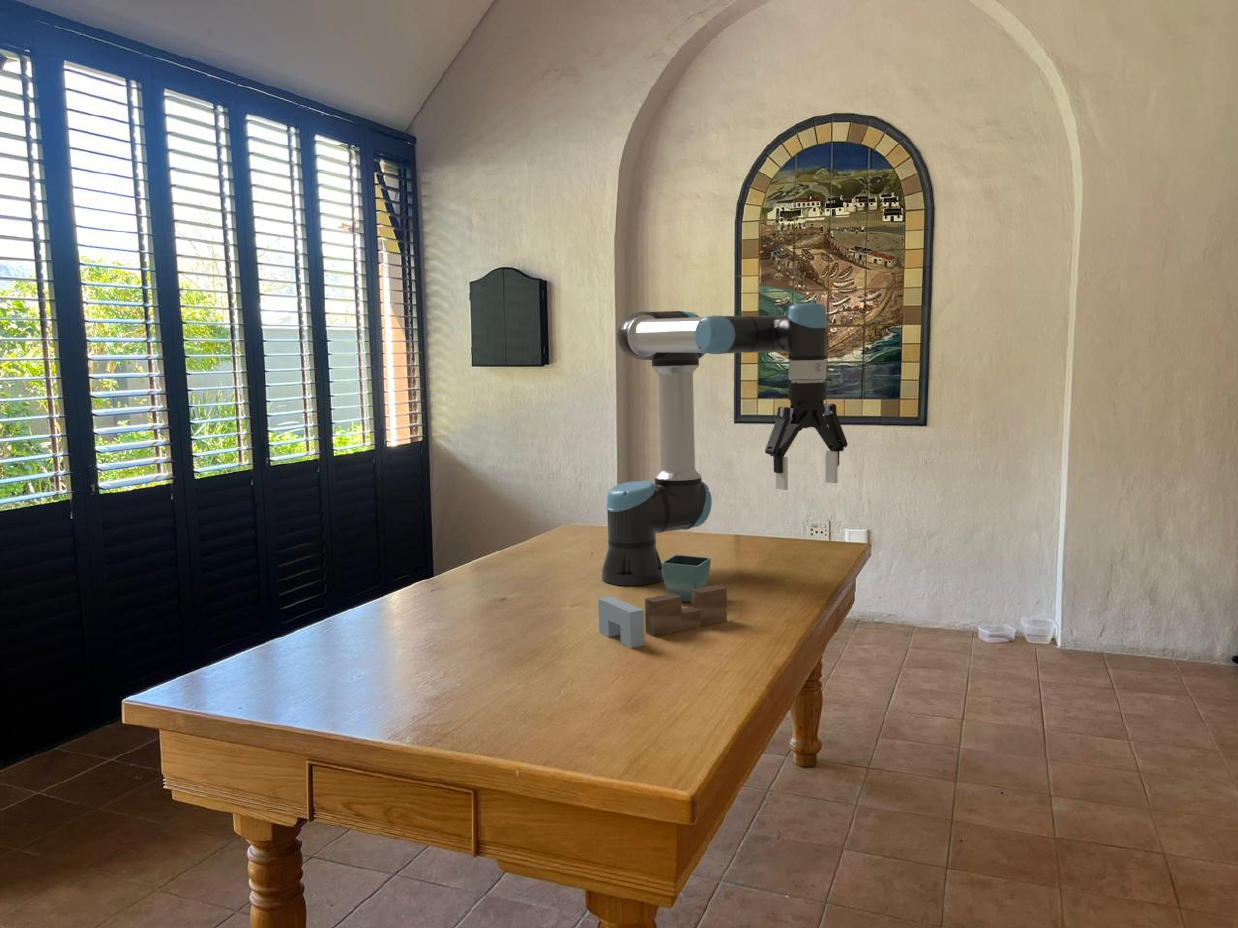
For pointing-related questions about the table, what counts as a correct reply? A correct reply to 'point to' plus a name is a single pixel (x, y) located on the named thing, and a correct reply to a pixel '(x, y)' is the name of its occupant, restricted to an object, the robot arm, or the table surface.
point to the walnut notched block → (685, 611)
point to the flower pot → (685, 575)
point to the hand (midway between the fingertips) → (807, 485)
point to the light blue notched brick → (621, 621)
